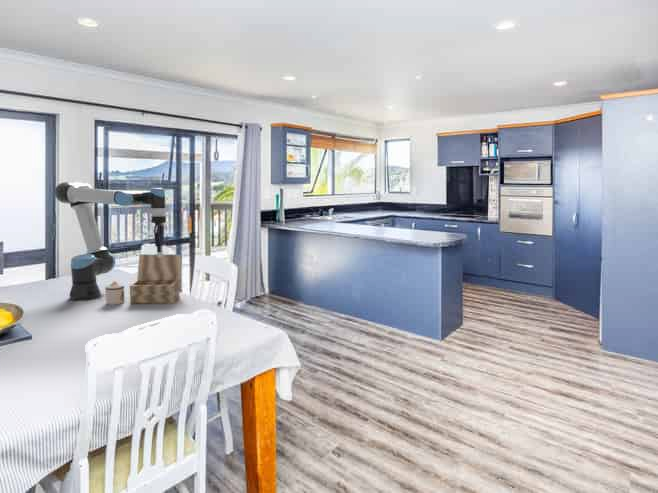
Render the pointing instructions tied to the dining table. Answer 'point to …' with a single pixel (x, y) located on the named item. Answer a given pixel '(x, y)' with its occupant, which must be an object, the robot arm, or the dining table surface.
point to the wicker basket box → (154, 291)
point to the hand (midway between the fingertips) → (160, 257)
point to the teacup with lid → (114, 293)
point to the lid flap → (159, 267)
